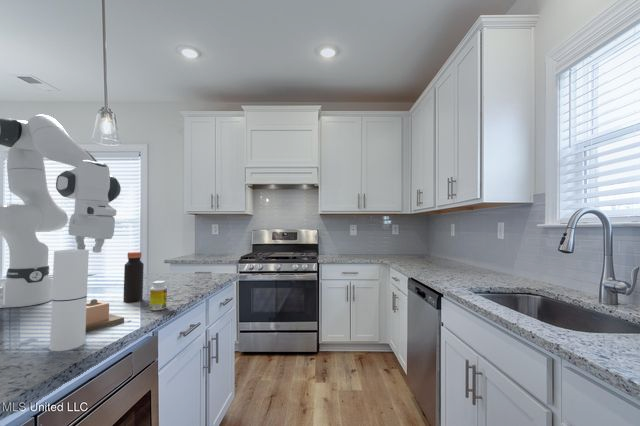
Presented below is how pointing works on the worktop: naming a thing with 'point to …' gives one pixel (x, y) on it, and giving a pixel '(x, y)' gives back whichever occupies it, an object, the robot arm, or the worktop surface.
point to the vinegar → (133, 278)
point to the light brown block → (97, 312)
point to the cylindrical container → (69, 299)
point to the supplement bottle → (158, 296)
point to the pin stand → (104, 323)
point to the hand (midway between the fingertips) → (88, 251)
